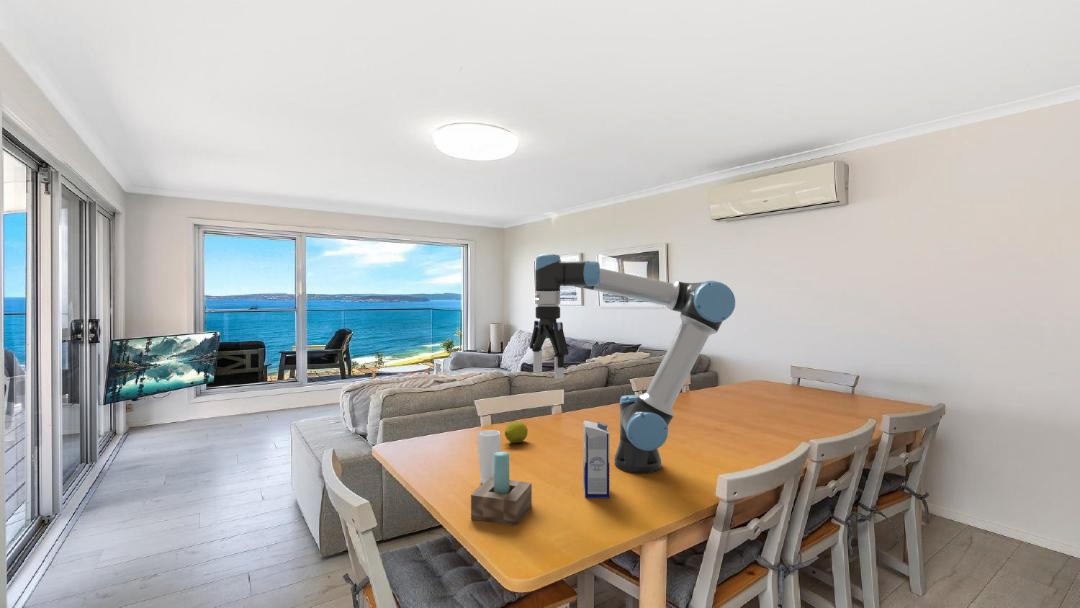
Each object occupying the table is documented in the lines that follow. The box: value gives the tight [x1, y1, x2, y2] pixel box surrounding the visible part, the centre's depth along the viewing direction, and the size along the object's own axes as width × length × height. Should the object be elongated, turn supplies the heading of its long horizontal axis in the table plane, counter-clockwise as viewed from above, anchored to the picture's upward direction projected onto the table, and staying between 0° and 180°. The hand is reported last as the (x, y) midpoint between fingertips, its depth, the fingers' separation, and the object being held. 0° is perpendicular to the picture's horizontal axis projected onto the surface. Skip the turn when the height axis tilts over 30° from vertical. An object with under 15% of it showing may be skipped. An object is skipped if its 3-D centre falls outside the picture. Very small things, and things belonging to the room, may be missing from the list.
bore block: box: [470, 478, 533, 527], centre depth 123 cm, size 12×12×6 cm
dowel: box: [494, 451, 510, 494], centre depth 123 cm, size 4×4×14 cm
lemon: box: [504, 421, 529, 444], centre depth 181 cm, size 11×8×8 cm
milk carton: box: [583, 420, 611, 499], centre depth 135 cm, size 7×7×20 cm
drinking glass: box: [477, 429, 502, 485], centre depth 142 cm, size 7×7×15 cm
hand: (547, 375), depth 145 cm, fingers open, 13 cm apart
